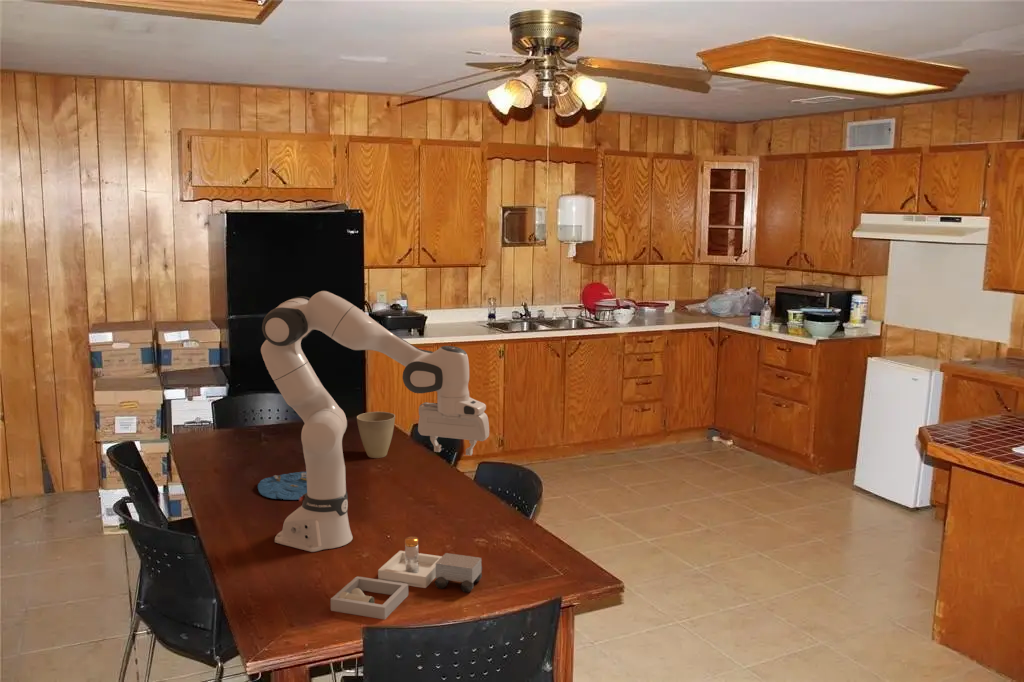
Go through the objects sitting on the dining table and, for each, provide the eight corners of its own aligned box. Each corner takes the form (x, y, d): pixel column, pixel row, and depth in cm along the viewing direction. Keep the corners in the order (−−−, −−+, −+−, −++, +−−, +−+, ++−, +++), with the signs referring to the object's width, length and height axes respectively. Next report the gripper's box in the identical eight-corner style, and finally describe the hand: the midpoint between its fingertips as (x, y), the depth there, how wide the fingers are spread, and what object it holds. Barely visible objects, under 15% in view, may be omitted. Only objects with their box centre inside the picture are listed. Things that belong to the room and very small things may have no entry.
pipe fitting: (352, 599, 211) (338, 609, 205) (352, 584, 211) (338, 593, 204) (380, 604, 208) (367, 614, 202) (381, 589, 208) (367, 598, 202)
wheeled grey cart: (435, 588, 216) (434, 564, 215) (455, 566, 230) (455, 543, 229) (471, 593, 213) (471, 569, 212) (489, 570, 227) (489, 548, 226)
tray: (378, 580, 220) (378, 570, 220) (400, 560, 233) (399, 550, 232) (425, 588, 216) (425, 577, 216) (445, 567, 229) (445, 556, 228)
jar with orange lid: (403, 572, 223) (402, 540, 222) (408, 567, 226) (408, 535, 225) (415, 574, 222) (415, 542, 221) (420, 569, 225) (420, 537, 224)
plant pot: (355, 451, 336) (354, 413, 334) (392, 448, 341) (391, 410, 338) (360, 462, 322) (359, 422, 320) (398, 459, 327) (398, 419, 324)
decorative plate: (354, 479, 308) (355, 465, 307) (329, 506, 278) (329, 491, 278) (276, 473, 310) (276, 459, 310) (243, 499, 281) (243, 484, 280)
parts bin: (330, 610, 204) (330, 598, 203) (357, 587, 216) (356, 576, 216) (384, 619, 199) (384, 607, 199) (408, 595, 212) (408, 584, 212)
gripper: (414, 404, 233) (414, 452, 235) (483, 410, 227) (483, 459, 229) (423, 399, 239) (423, 446, 241) (491, 405, 233) (491, 453, 235)
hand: (453, 453), depth 235 cm, fingers open, 8 cm apart
